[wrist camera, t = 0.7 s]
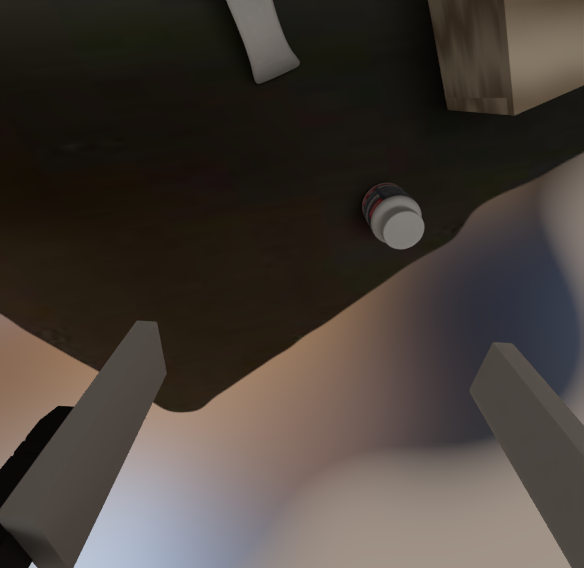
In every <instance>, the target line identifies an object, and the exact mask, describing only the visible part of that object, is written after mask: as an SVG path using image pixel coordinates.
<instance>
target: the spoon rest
mask: <svg viewBox="0 0 584 568" xmlns="http://www.w3.org/2000/svg"><path fill="white" fill-rule="evenodd" d="M226 1H227V4H228V6H229V8H230V11H231V13H232V15H233V18H234V20H235V22H236V25H237V27H238V30H239V32H240V35H241V37H242V40H243V42H244V45H245V48H246V51H247V54H248V57H249V60H250V63H251V67H252V72H253V76H254V80H255V82H256V83H257V84H260V83H263V82H266V81H268V80H270V79H273V78H275V77H277V76H279V75H281V74H284V73H286V72H288V71H290V70H292V69H294V68H296V67H298V66H299V64H300V62H299V60H298V58H297V57H296V56H295V54H294V53H293V52H292V50H291V49H290V47H289V45H288V43H287V41H286V39H285V36H284V34H283V31H282V29H281V26H280V23H279V20H278V17H277V14H276V11H275V7H274V4H273V0H226Z"/></svg>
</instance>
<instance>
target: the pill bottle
mask: <svg viewBox="0 0 584 568" xmlns="http://www.w3.org/2000/svg"><path fill="white" fill-rule="evenodd" d="M362 211H363V214H364V217H365V218H366V220H367V222H368V224H369V226H370V228H371V230H372V232H373V233H374V235H375V236H376V237H377V238H378V239H379V240H381V241H382V242H385V243H387V244H388V245H389V246H390V247H392V248H395V249H406V248H409V247H411V246H413V245H414V244H416V243H417V242H418V241H419V240H420V239H421V237H422V235H423V232H424V222H423V220H422V218H421V210H420V208H419V206H418V204H417V203H416V202H415V201H414V200H413V199H412V198H411V197H410V196H409V195H408V194H407V193H406V192H405V191H404V190H403V189H402V188H400V187H399V186H397V185H396V184H393V183H381V184H378V185H376V186H374V187H373V188H371V189H370V190H369V191H368V192H367V194H366V195H365V197H364V199H363V203H362Z"/></svg>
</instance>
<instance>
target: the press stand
mask: <svg viewBox="0 0 584 568" xmlns="http://www.w3.org/2000/svg"><path fill="white" fill-rule="evenodd" d="M428 4H429V9H430V15H431V20H432V26H433V31H434V37H435V42H436V48H437V53H438V59H439V64H440V70H441V76H442V81H443V87H444V92H445V98H446V103H447V109H448V110H455V111H467V112H479V113H491V114H504V115H516V114H519V113H521V112H523V111H526V110H528V109H530V108H532V107H535V106H537V105H539V104H542V103H544V102H546V101H549V100H551V99H553V98H555V97H558V96H560V95H562V94H565V93H567V92H569V91H572V90H574V89H576V88H578V87H581V86H583V85H584V0H428Z"/></svg>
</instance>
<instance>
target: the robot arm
mask: <svg viewBox="0 0 584 568" xmlns="http://www.w3.org/2000/svg"><path fill="white" fill-rule="evenodd" d="M166 374H167V373H166V368H165V362H164V357H163V352H162V347H161V341H160V336H159V331H158V325H157V322H150V321H136V323H135V324H134V325H133V327H132V328H131V329H130V331H129V332H128V334H127V335H126V336H125V338H124V339H123V340H122V342H121V343H120V345H119V346H118V347H117V349H116V350H115V351H114V353H113V354H112V356H111V357H110V358H109V360H108V361H107V362H106V364H105V365H104V367H103V368H102V369H101V371H100V372H99V373H98V375H97V376H96V378H95V379H94V380H93V382H92V383H91V385H90V386H89V387H88V389H87V390H86V391H85V393H84V394H83V396H82V397H81V398H80V400H79V401H78V402H77V404H76V405H75V407H70V406H58V407H56V408H55V409H54V410H52V411H51V412H50V413H48V414H47V415H46V416H45V417H43V418H42V419H41V420H39V422H38V423H37V424H36V425H35V427H34V428H33V429H32V430H31V432H30V433H29V434H28V435H27V437H26V440H25V441H23V442H22V443H21V444H20V445H19V447H18V448H17V449H16V450H15V452H14V455H13V456H11V457H10V458H9V459H8V460H7V462H6V463H5V464H4V465H3V466H2V468H1V469H0V568H28V567H29V566H30V564H31V562H33V563H34V564H35V565H36V567H37V568H73V567H74V565H75V563H76V561H77V559H78V557H79V555H80V553H81V551H82V549H83V546H84V545H85V542H86V540H87V538H88V536H89V534H90V532H91V530H92V527H93V526H94V524H95V522H96V519H97V517H98V515H99V513H100V511H101V509H102V507H103V505H104V503H105V501H106V499H107V496H108V494H109V492H110V490H111V488H112V486H113V484H114V482H115V480H116V477H117V475H118V473H119V471H120V469H121V467H122V465H123V463H124V461H125V459H126V457H127V455H128V453H129V450H130V449H131V446H132V444H133V442H134V440H135V438H136V436H137V434H138V431H139V430H140V428H141V426H142V423H143V421H144V419H145V417H146V415H147V413H148V411H149V409H150V407H151V405H152V403H153V401H154V399H155V396H156V394H157V392H158V390H159V388H160V386H161V384H162V382H163V380H164V378H165V376H166ZM469 392H470V393H471V395H472V397H473V399H474V401H475V402H476V404H477V406H478V407H479V409H480V411H481V413H482V414H483V416H484V418H485V419H486V421H487V423H488V425H489V426H490V428H491V430H492V432H493V433H494V435H495V437H496V438H497V440H498V442H499V444H500V445H501V447H502V449H503V450H504V452H505V454H506V456H507V457H508V459H509V461H510V462H511V464H512V466H513V467H514V469H515V471H516V472H517V474H518V476H519V478H520V480H521V481H522V483H523V485H524V487H525V488H526V490H527V491H528V493H529V495H530V497H531V498H532V500H533V502H534V504H535V505H536V507H537V509H538V510H539V512H540V514H541V516H542V517H543V519H544V521H545V523H546V524H547V526H548V528H549V529H550V531H551V533H552V534H553V536H554V538H555V540H556V541H557V543H558V545H559V547H560V548H561V550H562V552H563V554H564V555H565V557H566V559H567V560H568V562H569V564H570V566H571V567H572V568H584V426H583V424H582V423H581V422H580V421H579V420H578V418H577V417H576V416H575V415H574V414H573V413H572V412H571V410H570V409H569V408H568V407H567V406H566V405H565V404H564V402H563V401H562V400H561V399H560V398H559V397H558V395H557V394H556V393H555V392H554V391H553V390H552V389H551V387H550V386H549V385H548V384H547V383H546V382H545V380H544V379H543V378H542V377H541V376H540V375H539V374H538V373H537V371H536V370H535V369H534V368H533V367H532V366H531V364H530V363H529V362H528V361H527V360H526V359H525V358H524V356H523V355H522V354H521V353H520V352H519V351H518V349H517V348H516V347H515V346H514V345H513V344H512V343H496V342H493V343H492V346H491V348H490V350H489V351H488V354H487V356H486V357H485V360H484V361H483V364H482V365H481V368H480V370H479V372H478V374H477V376H476V378H475V380H474V382H473V384H472V386H471V388H470V390H469Z"/></svg>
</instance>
